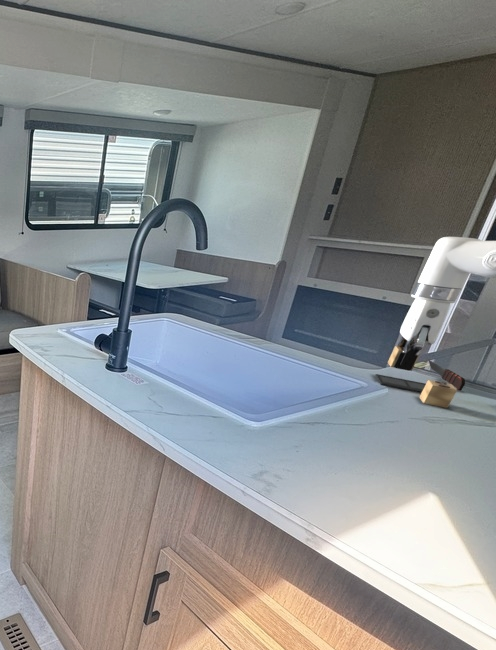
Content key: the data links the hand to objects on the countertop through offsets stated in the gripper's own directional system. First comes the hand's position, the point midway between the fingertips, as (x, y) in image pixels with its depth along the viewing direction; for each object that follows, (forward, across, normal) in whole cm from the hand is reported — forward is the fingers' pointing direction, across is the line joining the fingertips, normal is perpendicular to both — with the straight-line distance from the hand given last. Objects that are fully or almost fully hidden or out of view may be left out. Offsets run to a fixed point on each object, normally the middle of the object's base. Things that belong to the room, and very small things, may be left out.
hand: (400, 365), depth 106 cm
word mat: (+5, 0, -3) cm, 5 cm away
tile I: (+5, -10, -6) cm, 12 cm away
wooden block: (0, 0, 0) cm, 0 cm away
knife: (+5, +13, -12) cm, 18 cm away
